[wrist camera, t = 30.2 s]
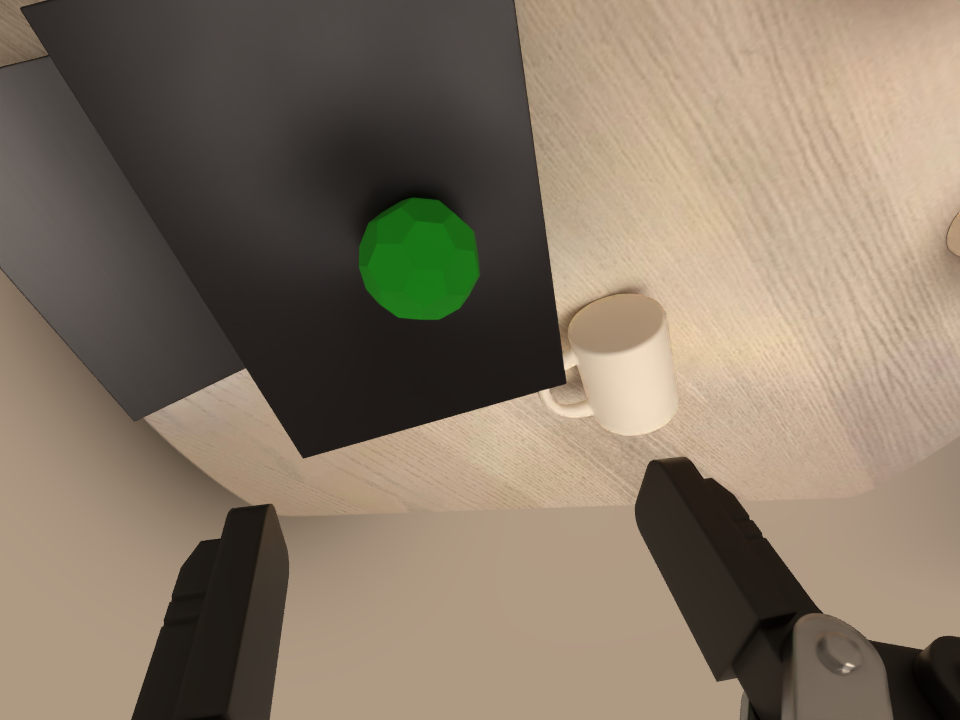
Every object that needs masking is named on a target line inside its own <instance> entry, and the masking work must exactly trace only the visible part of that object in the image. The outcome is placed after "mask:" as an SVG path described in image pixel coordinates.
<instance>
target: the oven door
mask: <svg viewBox="0 0 960 720" xmlns="http://www.w3.org/2000/svg"><path fill="white" fill-rule="evenodd" d="M0 269H1V270H2V271H3V272H4V273H5V274H6V276H7V277H8V278H9V279H10V280H11V281H12V282H13V284H14V285H15V286H16V287H17V288H18V289H19V290H20V292H21V293H22V294H23V295H24V296H25V297H26V298H27V299H28V301H29V302H30V303H31V304H32V305H33V306H34V308H35V309H36V310H37V311H38V312H39V313H40V314H41V315H42V317H43V318H44V319H45V320H46V321H47V322H48V324H49V325H50V326H51V327H52V328H53V329H54V330H55V332H56V333H57V334H58V335H59V336H60V337H61V338H62V340H63V341H64V342H65V343H66V344H67V345H68V346H69V347H70V349H71V350H72V351H73V352H74V353H75V354H76V356H77V357H78V358H79V359H80V360H81V361H82V362H83V364H84V365H85V366H86V367H87V368H88V369H89V370H90V372H91V373H92V374H93V375H94V376H95V377H96V378H97V380H98V381H99V382H100V383H101V384H102V385H103V386H104V388H105V389H106V390H107V391H108V392H109V393H110V394H111V396H112V397H113V398H114V399H115V400H116V401H117V402H118V404H119V405H120V406H121V407H122V408H123V409H124V410H125V411H126V413H127V414H128V415H129V416H130V417H131V418H132V420H133V421H137V420H139V419H141V418H143V417H145V416H147V415H149V414H151V413H153V412H156V411H158V410H160V409H162V408H164V407H166V406H168V405H170V404H172V403H174V402H176V401H178V400H180V399H183V398H185V397H187V396H189V395H191V394H193V393H195V392H197V391H199V390H201V389H203V388H205V387H207V386H209V385H212V384H214V383H216V382H218V381H220V380H222V379H224V378H226V377H228V376H230V375H232V374H234V373H236V372H238V371H241V370H243V369H245V368H246V367H245V366H244V364H243V362H242V361H241V359H240V358H239V356H238V354H237V353H236V351H235V350H234V348H233V346H232V345H231V343H230V342H229V340H228V339H227V337H226V335H225V334H224V332H223V331H222V329H221V327H220V326H219V324H218V323H217V321H216V319H215V318H214V316H213V315H212V313H211V312H210V310H209V308H208V307H207V305H206V304H205V302H204V300H203V299H202V297H201V296H200V294H199V292H198V291H197V289H196V288H195V286H194V285H193V283H192V281H191V280H190V278H189V277H188V275H187V273H186V272H185V270H184V269H183V267H182V265H181V264H180V262H179V261H178V259H177V258H176V256H175V254H174V253H173V251H172V250H171V248H170V246H169V245H168V243H167V242H166V240H165V238H164V237H163V235H162V234H161V232H160V231H159V229H158V227H157V226H156V224H155V223H154V221H153V219H152V218H151V216H150V215H149V213H148V211H147V210H146V208H145V207H144V205H143V204H142V202H141V200H140V199H139V197H138V196H137V194H136V192H135V191H134V189H133V188H132V186H131V184H130V183H129V181H128V180H127V178H126V177H125V175H124V173H123V172H122V170H121V169H120V167H119V165H118V164H117V162H116V161H115V159H114V157H113V156H112V154H111V153H110V151H109V150H108V148H107V146H106V145H105V143H104V142H103V140H102V138H101V137H100V135H99V134H98V132H97V130H96V129H95V127H94V126H93V124H92V123H91V121H90V119H89V118H88V116H87V115H86V113H85V111H84V110H83V108H82V107H81V105H80V103H79V102H78V100H77V99H76V97H75V96H74V94H73V92H72V91H71V89H70V88H69V86H68V84H67V83H66V81H65V80H64V78H63V76H62V75H61V73H60V72H59V70H58V69H57V67H56V65H55V64H54V62H53V61H52V59H51V57H50V56H49V55H47V56H43V57H39V58H35V59H31V60H27V61H23V62H19V63H15V64H11V65H7V66H3V67H0Z"/></svg>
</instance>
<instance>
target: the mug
mask: <svg viewBox="0 0 960 720" xmlns="http://www.w3.org/2000/svg"><path fill="white" fill-rule="evenodd" d="M568 339H569V342H570V348H569V349H567V350H565V351H563V352H562V354H563V361H564V369H565V371H566V370H567V369H569V368H571V367H573V366H575V365H577V367H578V370H579V374H580V377H581V380H582V383H583V386H584V389H585V392H586V396H587V399H586V400H585V401H582V402H579V403H575V404H568V405H565V404H560V403H558V402H557V401H555V400H554V398H553V397H552V395H551V394H550V391H549V389H546V390H543V391H539V392H538V394H539V397H540V399H541V400H542V402H543V403H544V405H545V406H546V407H547V408H548V409H549V410H550V411H552V412H553V413H555V414H557V415H559V416H563V417H567V418H582V417H587V416H591V415H593V417H594V419H595V420H596V421H597V423H598V424H599V425H600V426H602V427H603V428H604V429H606V430H608V431H610V432H612V433H615V434H619V435H626V436H636V435H643V434H647V433H650V432H653V431H655V430H658V429H660V428H661V427H663V426H664V425H666V424H667V423H668V422H669V421H670V420H671V419H672V418H673V417H674V415H675V414H676V412H677V410H678V407H679V392H678V386H677V380H676V373H675V367H674V361H673V355H672V348H671V342H670V336H669V329H668V323H667V317H666V313H665V310H664V309H663V307H662V306H661V305H660V304H659V303H658V302H657V301H655V300H654V299H652V298H649V297H647V296H643V295H638V294H618V295H612V296H608V297H605V298H602V299H599V300H597V301H594V302H592V303H590V304H589V305H587V306H585V307H584V308H583V309H581V310H580V311H579V312H578V313H577V314H576V315H575V316H574V318H573V319H572V321H571V322H570V325H569V328H568Z"/></svg>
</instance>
